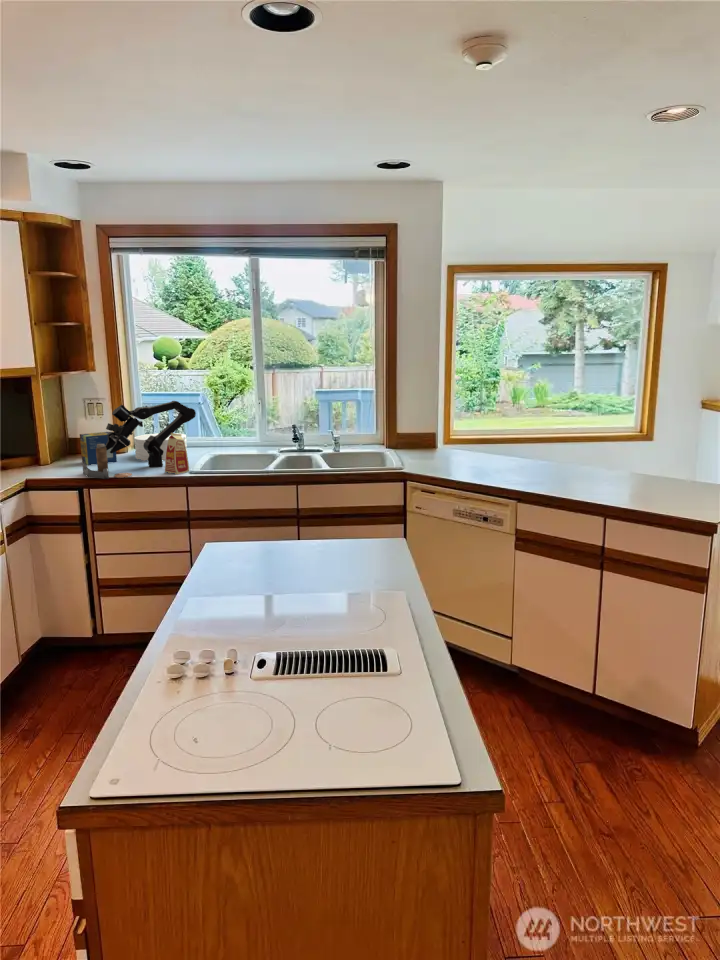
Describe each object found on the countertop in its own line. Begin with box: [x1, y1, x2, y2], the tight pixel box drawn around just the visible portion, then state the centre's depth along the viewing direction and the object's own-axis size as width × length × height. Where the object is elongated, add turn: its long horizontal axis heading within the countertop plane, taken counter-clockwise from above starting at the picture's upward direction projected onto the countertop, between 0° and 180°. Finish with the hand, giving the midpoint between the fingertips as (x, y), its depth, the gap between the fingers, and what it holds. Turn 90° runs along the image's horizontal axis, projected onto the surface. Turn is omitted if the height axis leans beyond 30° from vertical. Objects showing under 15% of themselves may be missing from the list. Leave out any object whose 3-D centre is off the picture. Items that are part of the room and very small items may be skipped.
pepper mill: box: [96, 444, 109, 471], centre depth 314 cm, size 5×5×14 cm
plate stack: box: [133, 432, 188, 461], centre depth 359 cm, size 28×28×12 cm
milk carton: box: [164, 432, 190, 475], centre depth 315 cm, size 9×9×20 cm
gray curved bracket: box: [82, 463, 110, 480], centre depth 306 cm, size 5×21×5 cm, turn 52°
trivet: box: [113, 472, 133, 479], centre depth 307 cm, size 8×8×1 cm
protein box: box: [79, 431, 118, 466], centre depth 341 cm, size 10×15×16 cm
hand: (107, 451), depth 315 cm, fingers open, 9 cm apart
